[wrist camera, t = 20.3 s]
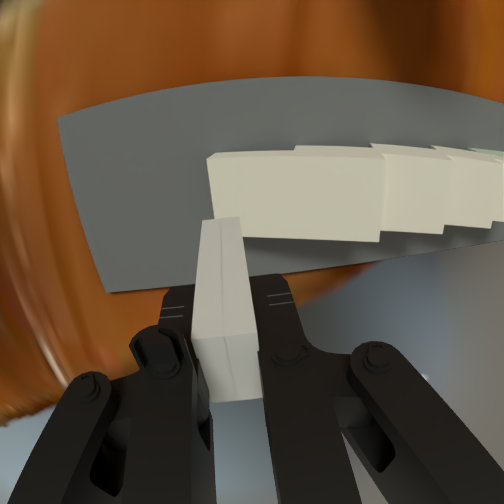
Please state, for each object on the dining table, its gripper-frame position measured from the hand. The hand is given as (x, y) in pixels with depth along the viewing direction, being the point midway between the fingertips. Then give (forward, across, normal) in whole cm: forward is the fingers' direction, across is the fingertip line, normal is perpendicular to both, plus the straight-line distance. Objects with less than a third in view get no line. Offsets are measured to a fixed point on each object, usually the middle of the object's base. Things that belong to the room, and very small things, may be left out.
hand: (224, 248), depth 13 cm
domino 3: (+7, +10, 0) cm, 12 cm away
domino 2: (+7, +5, 0) cm, 8 cm away
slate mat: (+8, +10, 0) cm, 13 cm away
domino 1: (+7, 0, 0) cm, 7 cm away
